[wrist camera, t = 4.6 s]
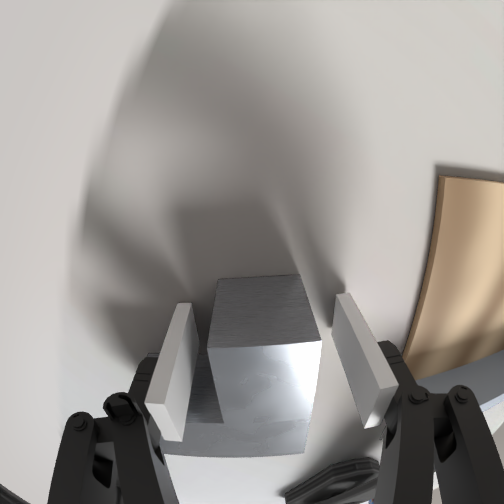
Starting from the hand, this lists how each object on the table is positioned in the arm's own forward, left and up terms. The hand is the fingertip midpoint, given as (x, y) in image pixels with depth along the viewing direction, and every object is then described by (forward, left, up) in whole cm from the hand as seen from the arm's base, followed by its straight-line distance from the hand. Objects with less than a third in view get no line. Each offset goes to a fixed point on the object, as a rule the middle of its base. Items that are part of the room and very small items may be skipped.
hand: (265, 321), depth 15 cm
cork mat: (+17, 0, 0) cm, 17 cm away
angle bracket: (-3, -2, 0) cm, 3 cm away
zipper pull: (+9, -23, -1) cm, 25 cm away
